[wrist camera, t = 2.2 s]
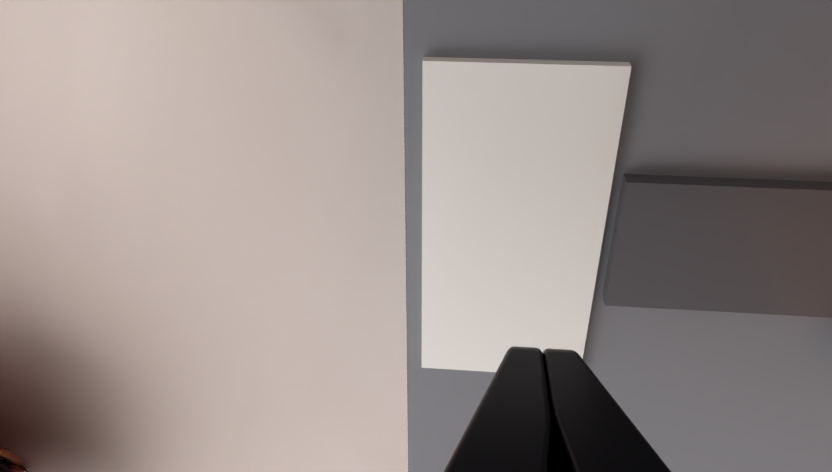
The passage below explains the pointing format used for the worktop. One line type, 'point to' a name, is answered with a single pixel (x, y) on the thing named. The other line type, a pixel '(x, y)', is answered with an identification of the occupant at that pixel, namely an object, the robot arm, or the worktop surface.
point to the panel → (625, 217)
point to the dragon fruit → (10, 462)
